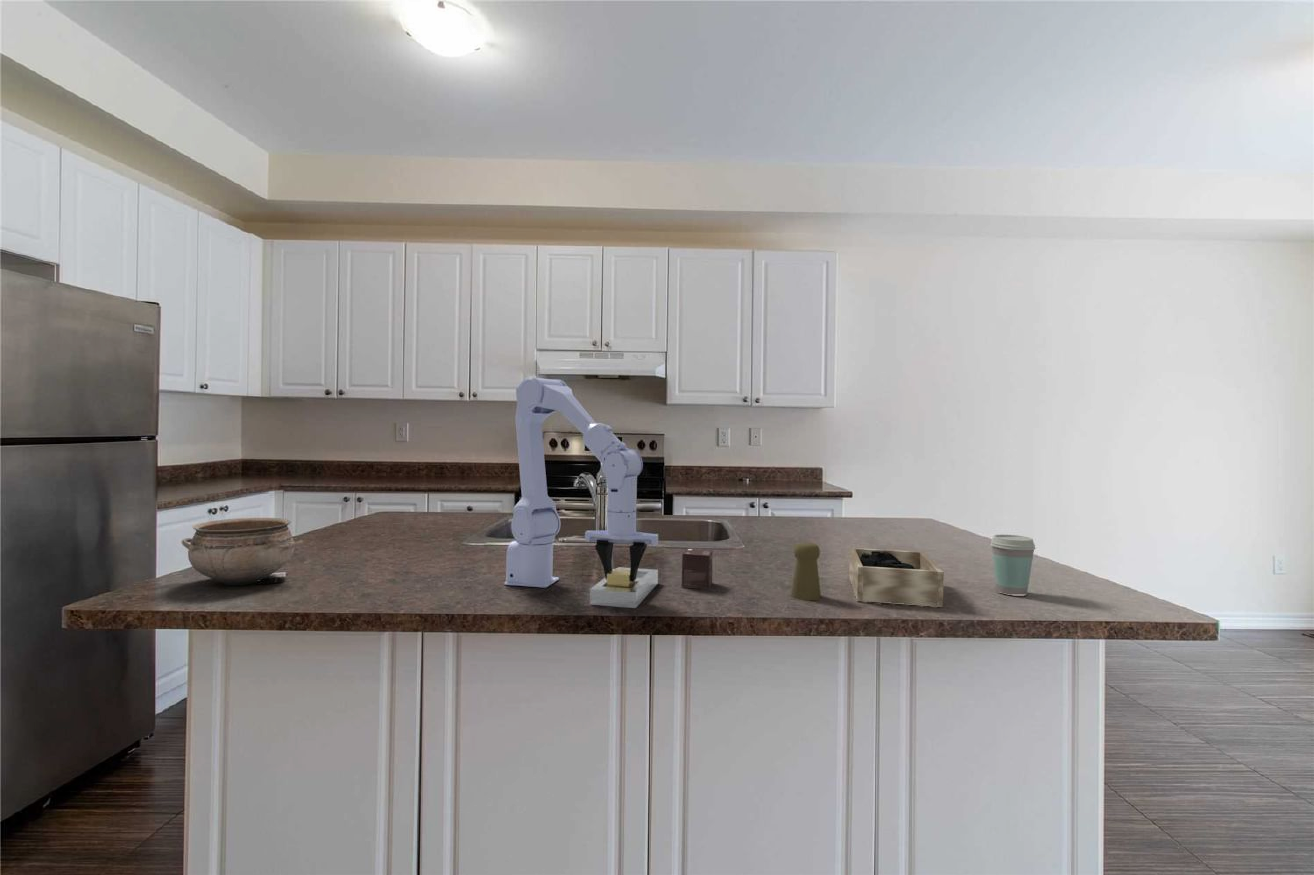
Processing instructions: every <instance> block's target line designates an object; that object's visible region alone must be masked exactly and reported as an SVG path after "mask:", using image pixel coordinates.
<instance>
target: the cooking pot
mask: <svg viewBox="0 0 1314 875" xmlns="http://www.w3.org/2000/svg"><path fill="white" fill-rule="evenodd" d="M290 524H291V520H290V519H286V518H278V517H241V518H240V517H239V518H229V519H220V520H219V519H218V520H212V521H205V522H199V523H197V524H194V525H192V529H193V530H194V531H195V533H194V534H193V537H192V538H191V537H186V538H183V539H182V540H181V544H182V546H183V547H184V548H186V549H187V550H188V551H187V556H188V561H189V563H190V565H191V567H192V568H193V569H194V570H195V571H196V572H198V573H199V574H200V575H203V576H205V577H207V578H209V579H212V580H214V581H217V582H219V583H222V584H224V585H226V586H243V585H252V584H255V583H258V582H257V581H258V580H261V579H262V580H264V579H265V578H267V577H268V576H270V575H272V574H274V573H276V572H277V571H279V570H280V569H282V568H283V567H284V566H285V565H287V563H288V562H289V561H290V559H291V558H292V556H293V554H294V551H295V548H297V547H299V546H302V545H303V544H304V540H303V539H300V540H297V541H294V538H293V535H292V532H291V530H290V528H289V526H288V525H290ZM263 578H264V579H263ZM262 580H261V581H262Z"/></svg>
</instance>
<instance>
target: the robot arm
mask: <svg viewBox="0 0 1314 875" xmlns="http://www.w3.org/2000/svg"><path fill="white" fill-rule="evenodd" d="M515 396H516V405H517V406H516V410H515V419H514V420H515V430H516V431H515V432H516V444H517V455H518V467H519V468H518V469H519V479H520V480H519V481H520V490H521V498H520V499H519V501H518V502H517V503H516V504H515V505H514V507H513V508H512V511H513V515H512V520H511V527H510V529H511V533H512V535H513V537H514V539H515V540H512V541H511V542H509V544H508V546H507V550H506V557H505V558H506V560H505V563H506V564H505V565H506V566H505V567H506V568H505V582H504V585H505V586H506V585H507V586H521V587H531V588H532V587H533V588H534V587H535V588H544V589H545V588H547V587H549V586H552V584H554V583H555V582H557V581H558V580H560V577H559V576H553V571H554V570H553V565H554V564H553V560H554V558H553V557H554V554H553V553H554V541H555V540H556V536H557V535H558V533H559V532H560V530H561V525H562V524H561V517H560V516H559V514H558V511H557V506H556V505H557V504H556V503H555V501H554V500H553V499H552V498H551V497H550V496H549V495H548V486H547V485H548V484H547V474H546V463H545V462H546V460H545V451H544V450H545V449H544V437H543V426H542V425H543V422H545V420H546V419H547V418H548V417H550V416H551V415H552V414H553V413H555V412H557V411H558V412H560V413H561V415H563V416H564V417H565V418H566V419H567V420H568V421H569V422H570V423H571V424H572V425H573V426H574V427H575V428H576V429H577V430H578V431H579V432H580V433H581V434H582V435H583V436H582V443H583V444H584V445H585V446H586V447H587V449H588V450H589V451H590V452H591V453H592V454H593V455H594V456H595V458H597V459H596V460H599V462H600V463H601V470H602V472H603V473H602V474H603V475H604V476H605V479H606V483H605V484H606V486H607V511H606V512H607V515H606V517H607V518H606V519H607V520H606V530H586V531H585V532H584V542H589V543H590V542H595V543H596V544H595V545H594V547H595V551H596V552H597V555H598V556H599V559H600V561H601V565H602V567H603V571H604V573H603V574H604V578H605V579H606V580H607V573H609V572H610V571H611V570H612V569H613V550H614V543H616V544H617V543H619V544H632V545H630V546H629V556H630V557H629V558H630V567H629V568H630V581H635V580H636V575H637V570H638V568H639V566H640V564H641V560H642V558H643V557H644V553H645V551H646V549H647V548H648V545H649V546H657V545H658V544H659V533H649V532H648V533H647V532H640V531H637V495H638V494H637V492H638V488H637V487H638V486H637V484H638V476H639V475H640V474H641V472H642V471H643V467H644V464H643V463H644V462H643V458H642V456H641V454H640V453H639V451H638V450H636V449H631V448H628V447H627V444H626V443H625V442H624V441H621V440H620V439H619V438H618V436H616V435H615V434H614V433H613V432H612V430H613V428H612V427H611V426H610V425H609V424H604V423H603V422H601V423H600V422H598V423H597V422H595V420H594V419H593V417H592V416H591V415H590V414H589V413H588V412H587V410H586V409H585V408H584V406H583V405H582V404H581V403H580V402H579V400H578V399H577V398H576V397H575V396H574V394H573V390H572V388H571V387H569V386H567V383H566V382H565V381H564V380H562V379H559V378H557V379H555V378H554V379H551V378H550V379H549V378H543V377H542V378H540V377H535V376H528V377H525V378H524V379H523V380H522V381H521V382H520V383H519V385H518V386H517V387H516V388H515Z"/></svg>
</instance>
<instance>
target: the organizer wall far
mask: <svg viewBox="0 0 1314 875" xmlns="http://www.w3.org/2000/svg"><path fill="white" fill-rule="evenodd" d="M854 548H855V550H856V552H857V555H858V557H859V558H860V557H861V555H862V554H863V553H866V554H870V555H871V552H872V551H879V552H888V553H890V554H892V555H893V556H895V557H896V558H897V559H898V560H899V561H901V563H906V564H910V565H912V566H913V567H914V568H915V569H917V570H919V564H920V552H921V551H915V550H914V551H913V550H896V549H895V550H893V549H878V548H877V549H875V548H860V547H859V548H857V547H854Z"/></svg>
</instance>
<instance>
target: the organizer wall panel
mask: <svg viewBox="0 0 1314 875" xmlns="http://www.w3.org/2000/svg"><path fill="white" fill-rule="evenodd" d="M855 548H856V547H849V572H848V574H849V576H848V578H849V581H851V582H850V584H852V585H851V587H853V588H852V590H854V591H853V593H855V594H854V596H856V597H855V599H857V600H856V602H857V601H862V600H863V565H862V563H861V561H860V559H859V557H858V555H857V552H856V550H855Z"/></svg>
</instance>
